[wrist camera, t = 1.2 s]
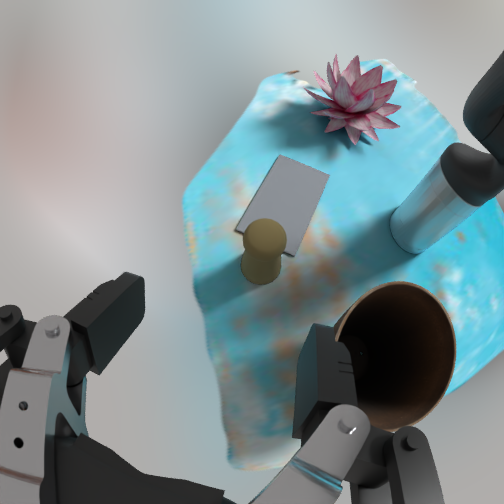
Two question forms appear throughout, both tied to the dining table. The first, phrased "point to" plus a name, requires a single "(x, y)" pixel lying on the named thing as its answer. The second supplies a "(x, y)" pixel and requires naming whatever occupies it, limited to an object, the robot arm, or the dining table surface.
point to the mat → (287, 199)
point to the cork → (263, 250)
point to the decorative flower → (356, 100)
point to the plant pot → (398, 352)
